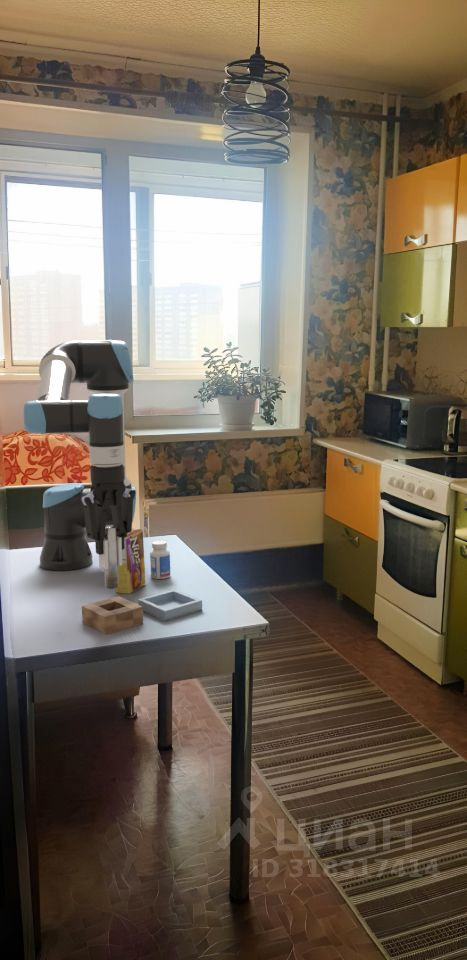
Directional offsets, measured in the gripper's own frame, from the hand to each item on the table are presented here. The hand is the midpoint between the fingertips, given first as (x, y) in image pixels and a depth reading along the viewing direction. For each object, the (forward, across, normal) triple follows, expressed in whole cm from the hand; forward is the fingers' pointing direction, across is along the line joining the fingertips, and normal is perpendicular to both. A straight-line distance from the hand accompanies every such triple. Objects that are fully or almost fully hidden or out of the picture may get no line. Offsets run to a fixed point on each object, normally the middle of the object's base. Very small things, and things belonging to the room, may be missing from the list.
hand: (110, 565), depth 168 cm
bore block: (+14, 0, 0) cm, 14 cm away
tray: (+14, +15, -2) cm, 20 cm away
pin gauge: (+5, 0, 0) cm, 5 cm away
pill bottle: (+14, +29, +21) cm, 38 cm away
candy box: (+14, +17, +18) cm, 28 cm away
